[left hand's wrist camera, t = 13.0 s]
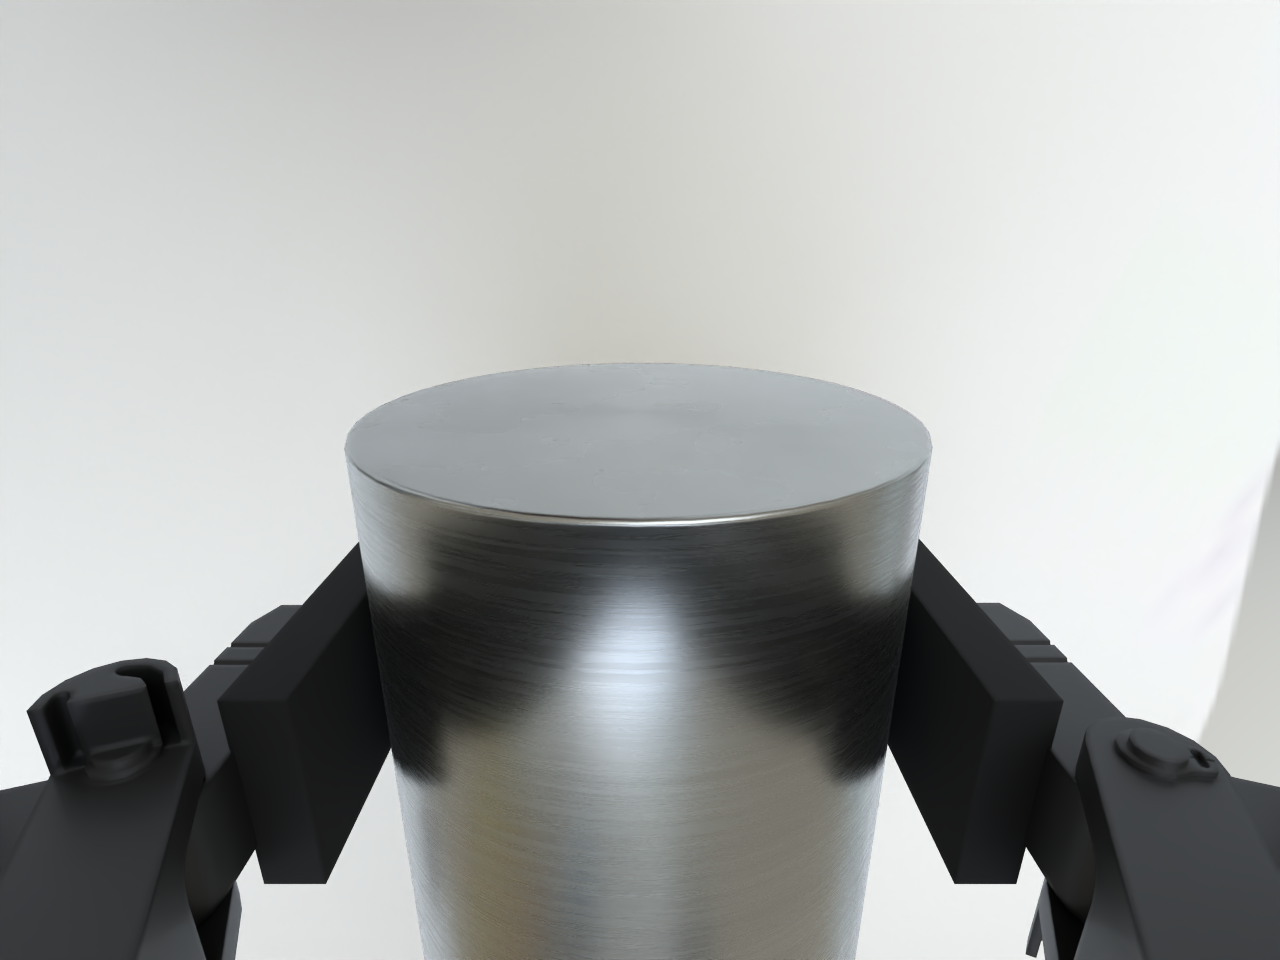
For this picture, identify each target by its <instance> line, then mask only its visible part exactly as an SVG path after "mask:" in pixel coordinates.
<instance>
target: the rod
mask: <svg viewBox="0 0 1280 960" xmlns="http://www.w3.org/2000/svg"><path fill="white" fill-rule="evenodd" d="M931 453H932V443H931V438H930V434H929V432H928V430H927V429H926V428H925V426H924V425H923V423H922V422H921V421H920V420H918V419H917V418H916V417H915V416H913V415H912V414H911V413H910V412H908V411H906V410H904V409H903V408H901V407H899V406H897V405H896V404H893V403H891V402H889V401H886V400H884V399H882V398H880V397H877V396H875V395H872V394H869V393H866V392H863V391H860V390H857V389H854V388H850V387H847V386H843V385H839V384H836V383H831V382H827V381H822V380H818V379H813V378H808V377H802V376H797V375H791V374H785V373H778V372H771V371H764V370H755V369H746V368H736V367H725V366H712V365H695V364H670V363H611V364H586V365H570V366H557V367H545V368H535V369H526V370H518V371H510V372H503V373H496V374H490V375H484V376H479V377H473V378H468V379H463V380H458V381H454V382H449V383H445V384H441V385H437V386H434V387H430V388H427V389H423V390H420V391H417V392H414V393H411V394H408V395H405V396H402V397H400V398H398V399H395V400H393V401H391V402H388V403H386V404H384V405H382V406H380V407H378V408H376V409H375V410H373V411H371V412H369V413H368V414H366V415H365V416H364V417H363V418H361V419H360V420H359V421H358V422H356V423H355V425H354V426H353V427H352V429H351V430H350V432H349V433H348V436H347V440H346V444H345V455H346V461H347V467H348V474H349V480H350V487H351V493H352V499H353V506H354V512H355V518H356V525H357V531H358V538H359V544H360V550H361V557H362V563H363V569H364V576H365V582H366V589H367V595H368V601H369V608H370V614H371V620H372V627H373V633H374V640H375V646H376V652H377V659H378V665H379V672H380V678H381V684H382V691H383V697H384V703H385V710H386V716H387V723H388V729H389V735H390V742H391V748H392V754H393V761H394V767H395V774H396V780H397V786H398V793H399V799H400V805H401V812H402V818H403V825H404V831H405V837H406V844H407V850H408V857H409V863H410V869H411V876H412V882H413V888H414V895H415V901H416V908H417V914H418V920H419V927H420V933H421V939H422V946H423V952H424V959H425V960H855V955H856V949H857V942H858V936H859V929H860V922H861V916H862V909H863V903H864V896H865V889H866V883H867V876H868V870H869V863H870V856H871V850H872V843H873V837H874V830H875V823H876V817H877V810H878V804H879V797H880V790H881V784H882V777H883V770H884V764H885V757H886V751H887V744H888V737H889V731H890V724H891V718H892V711H893V704H894V698H895V691H896V685H897V678H898V671H899V665H900V658H901V652H902V645H903V638H904V632H905V625H906V619H907V612H908V605H909V599H910V592H911V585H912V579H913V572H914V566H915V559H916V552H917V546H918V539H919V533H920V526H921V519H922V513H923V506H924V500H925V493H926V486H927V480H928V473H929V467H930V460H931Z"/></svg>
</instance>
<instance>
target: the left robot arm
mask: <svg viewBox="0 0 1280 960" xmlns="http://www.w3.org/2000/svg"><path fill="white" fill-rule="evenodd" d="M27 714H28V716H29V719H30V722H31V724H32V727H33V730H34V732H35V735H36V738H37V740H38V743H39V745H40V748H41V751H42V753H43V756H44V759H45V761H46V764H47V767H48V769H49V772H50V777H49V779H48V780H47V781H42V782H38V783H33V784H28V785H24V786H19V787H14V788H10V789H5V790H0V960H235V955H236V948H237V941H238V933H239V926H240V919H241V911H242V907H241V900H240V893H239V890H238V886H237V882H236V879H237V878H238V876H239V875H240V873H241V871H242V870H243V868H244V866H245V865H246V863H247V862H248V860H249V858H250V857H251V855H252V854H253V852H254V850H256V854H257V858H258V862H259V865H260V869H261V873H262V877H263V881H264V884H326V883H327V880H328V878H329V876H330V874H331V872H332V870H333V868H334V866H335V864H336V862H337V860H338V857H339V855H340V853H341V851H342V849H343V847H344V845H345V843H346V841H347V839H348V837H349V834H350V832H351V830H352V828H353V826H354V824H355V822H356V820H357V818H358V816H359V814H360V811H361V809H362V807H363V805H364V803H365V801H366V799H367V797H368V795H369V793H370V791H371V788H372V786H373V784H374V782H375V780H376V778H377V776H378V774H379V772H380V770H381V768H382V765H383V763H384V761H385V759H386V757H387V755H388V753H389V751H390V749H391V742H390V735H389V729H388V723H387V716H386V710H385V703H384V697H383V691H382V684H381V678H380V672H379V665H378V659H377V652H376V646H375V640H374V633H373V627H372V620H371V614H370V608H369V601H368V595H367V589H366V582H365V576H364V569H363V563H362V557H361V550H360V544H359V542H358V543H357V544H356V546H355V547H354V548H353V549H352V550H351V551H350V552H349V553H348V555H347V556H346V557H345V558H344V559H343V560H342V561H341V562H340V563H339V565H338V566H337V567H336V568H335V569H334V570H333V571H332V572H331V574H330V575H329V576H328V577H327V578H326V579H325V580H324V581H323V582H322V584H321V585H320V586H319V587H318V588H317V589H316V590H315V591H314V593H313V594H312V595H311V596H310V597H309V598H308V599H307V600H306V601H305V603H304V604H303V605H281V606H279V607H278V608H276V609H274V610H272V611H271V612H269V613H267V614H266V615H264V616H262V617H260V618H259V619H257V620H255V621H254V622H252V623H251V624H250V625H249V626H248V627H247V628H246V629H245V630H244V631H243V632H242V633H241V634H240V635H239V636H238V637H237V638H236V639H235V640H234V641H233V642H232V643H231V647H227V648H226V649H225V650H224V651H223V652H222V653H221V654H220V655H219V656H218V657H217V658H216V659H215V660H214V665H209V666H208V667H207V668H206V669H205V670H204V671H203V672H202V673H201V674H200V676H199V677H198V678H197V679H196V680H195V681H194V682H193V683H192V684H191V685H190V686H189V687H188V688H187V689H186V690H185V691H184V692H183V688H182V685H181V681H180V678H179V674H178V670H177V668H176V667H174V666H173V665H171V664H170V663H169V662H167V661H164V660H157V659H149V658H143V659H134V660H124V661H119V662H115V663H112V664H108V665H104V666H100V667H97V668H93V669H91V670H88V671H86V672H84V673H81V674H79V675H77V676H74V677H72V678H70V679H67V680H65V681H64V682H62V683H60V684H59V685H57V686H56V687H54V688H53V689H51V690H49V691H48V692H46V693H45V694H43V695H42V696H41V697H40V698H39V699H38V700H37V701H36V702H35V703H34V704H33V705H32V706H31V707H30V708H29V709H28V710H27ZM888 746H889V748H890V750H891V752H892V754H893V756H894V758H895V760H896V762H897V764H898V767H899V769H900V771H901V773H902V775H903V777H904V779H905V781H906V783H907V785H908V787H909V790H910V792H911V794H912V796H913V798H914V800H915V802H916V804H917V806H918V808H919V810H920V813H921V815H922V817H923V819H924V821H925V823H926V825H927V827H928V829H929V831H930V833H931V836H932V838H933V840H934V842H935V844H936V846H937V848H938V850H939V852H940V854H941V856H942V859H943V861H944V863H945V865H946V867H947V869H948V871H949V873H950V875H951V877H952V879H953V882H954V884H1016V883H1017V879H1018V875H1019V871H1020V868H1021V864H1022V860H1023V856H1024V852H1025V848H1026V847H1027V849H1028V851H1029V852H1030V854H1031V855H1032V857H1033V859H1034V860H1035V862H1036V864H1037V865H1038V867H1039V868H1040V870H1041V872H1042V873H1043V875H1044V876H1045V879H1044V882H1043V886H1042V890H1041V893H1040V897H1039V900H1038V904H1037V908H1036V911H1035V915H1034V918H1033V922H1032V926H1031V929H1030V933H1029V936H1028V941H1027V948H1026V955H1029V956H1032V957H1035V958H1036V957H1037V953H1038V950H1039V946H1040V943H1041V941H1042V940H1043V946H1044V953H1045V960H1280V787H1276V786H1272V785H1267V784H1262V783H1258V782H1253V781H1248V780H1243V779H1239V778H1234V777H1231V776H1230V774H1229V773H1228V772H1227V770H1226V769H1225V768H1224V767H1223V765H1222V764H1221V763H1220V762H1219V760H1218V759H1217V758H1216V757H1215V756H1214V755H1212V754H1211V753H1210V752H1208V751H1207V750H1206V749H1204V748H1203V747H1202V746H1200V745H1199V744H1198V743H1196V742H1195V741H1193V740H1191V739H1189V738H1187V737H1185V736H1183V735H1181V734H1179V733H1177V732H1175V731H1173V730H1171V729H1169V728H1167V727H1164V726H1161V725H1157V724H1154V723H1151V722H1148V721H1144V720H1141V719H1134V718H1126V717H1125V716H1124V715H1123V714H1122V713H1121V712H1120V711H1119V710H1118V709H1117V708H1116V707H1115V706H1114V705H1113V704H1112V703H1111V702H1110V701H1109V700H1108V699H1107V698H1106V697H1105V696H1104V695H1103V694H1102V693H1101V692H1100V691H1099V690H1098V689H1097V688H1096V687H1095V686H1094V685H1093V684H1092V683H1091V682H1090V681H1089V680H1088V679H1087V678H1086V677H1085V676H1084V675H1083V674H1082V673H1081V672H1080V671H1079V670H1078V669H1077V668H1076V667H1075V666H1074V665H1073V664H1072V663H1068V662H1067V658H1066V657H1065V656H1064V655H1063V654H1062V653H1061V652H1060V651H1059V649H1058V648H1057V647H1056V646H1055V645H1050V640H1049V639H1048V638H1047V637H1046V636H1045V635H1044V634H1043V633H1042V632H1041V631H1040V630H1039V629H1038V628H1037V627H1036V626H1035V625H1034V624H1033V623H1032V622H1031V621H1030V620H1028V619H1026V618H1025V617H1023V616H1021V615H1019V614H1018V613H1016V612H1014V611H1013V610H1011V609H1009V608H1007V607H1006V606H1004V605H1002V604H1000V603H976V602H975V601H974V600H973V599H972V598H971V596H970V595H969V594H968V593H967V592H966V591H965V590H964V589H963V587H962V586H961V585H960V584H959V583H958V582H957V581H956V580H955V579H954V577H953V576H952V575H951V574H950V573H949V572H948V571H947V570H946V568H945V567H944V566H943V565H942V564H941V563H940V562H939V561H938V560H937V558H936V557H935V556H934V555H933V554H932V553H931V552H930V551H929V549H928V548H927V547H926V546H925V545H924V544H923V543H922V542H921V541H920V539H918V546H917V552H916V559H915V566H914V572H913V579H912V585H911V592H910V599H909V605H908V612H907V619H906V625H905V632H904V638H903V645H902V652H901V658H900V665H899V671H898V678H897V685H896V691H895V698H894V704H893V711H892V718H891V724H890V731H889V737H888Z"/></svg>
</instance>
